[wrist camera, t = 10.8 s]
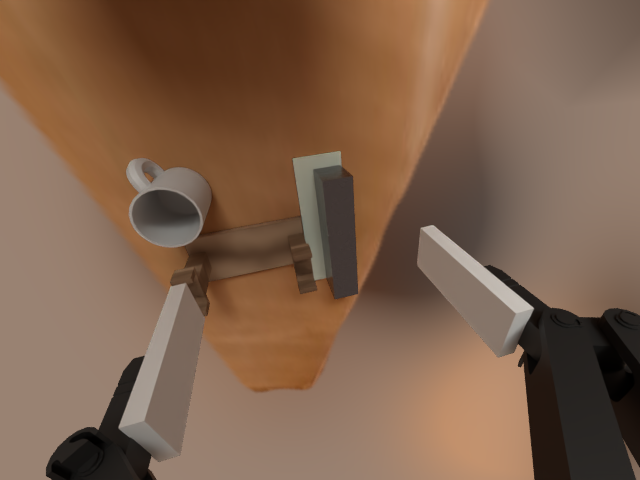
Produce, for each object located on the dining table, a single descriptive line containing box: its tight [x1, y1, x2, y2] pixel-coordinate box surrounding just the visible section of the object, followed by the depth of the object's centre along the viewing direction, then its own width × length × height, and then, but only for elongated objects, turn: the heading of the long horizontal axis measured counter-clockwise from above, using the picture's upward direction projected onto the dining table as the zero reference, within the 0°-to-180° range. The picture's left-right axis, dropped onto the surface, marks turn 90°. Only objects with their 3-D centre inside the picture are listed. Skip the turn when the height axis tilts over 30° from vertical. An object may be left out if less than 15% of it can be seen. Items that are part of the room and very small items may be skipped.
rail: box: [313, 165, 358, 299], centre depth 42 cm, size 4×20×6 cm, turn 7°
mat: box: [292, 151, 342, 280], centre depth 44 cm, size 22×7×1 cm, turn 7°
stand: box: [170, 216, 317, 316], centre depth 39 cm, size 8×18×10 cm, turn 97°
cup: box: [126, 158, 212, 247], centre depth 32 cm, size 7×10×9 cm
